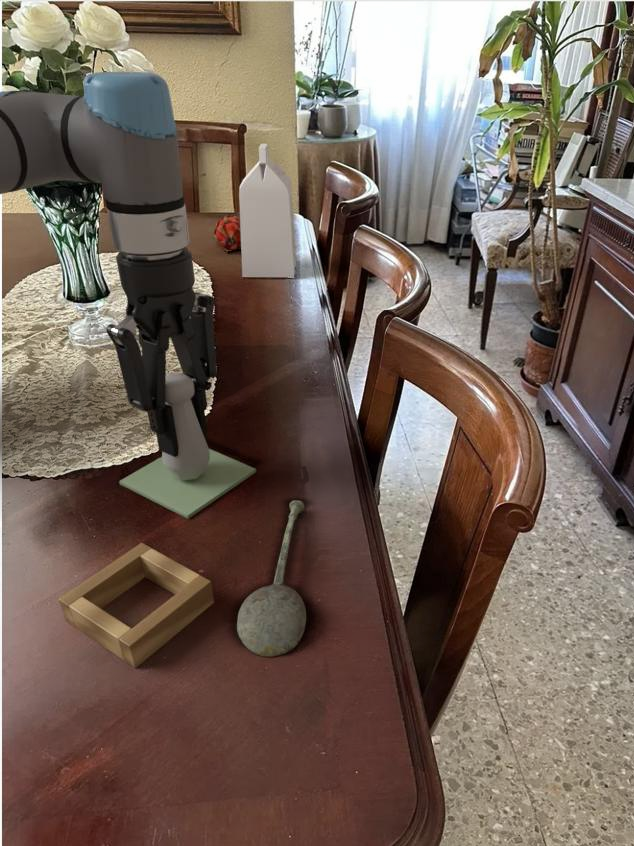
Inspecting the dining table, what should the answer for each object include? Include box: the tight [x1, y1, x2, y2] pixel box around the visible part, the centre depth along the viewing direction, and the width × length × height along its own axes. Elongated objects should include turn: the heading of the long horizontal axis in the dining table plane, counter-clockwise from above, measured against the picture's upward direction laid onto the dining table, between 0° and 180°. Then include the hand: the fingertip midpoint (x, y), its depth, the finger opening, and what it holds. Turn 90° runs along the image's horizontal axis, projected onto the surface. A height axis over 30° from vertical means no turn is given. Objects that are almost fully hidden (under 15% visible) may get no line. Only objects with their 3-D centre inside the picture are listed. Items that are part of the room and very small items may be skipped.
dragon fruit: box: [213, 215, 241, 253], centre depth 163 cm, size 8×8×12 cm
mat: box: [118, 448, 257, 520], centre depth 84 cm, size 12×12×1 cm
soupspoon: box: [236, 499, 307, 658], centre depth 69 cm, size 22×3×7 cm
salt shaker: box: [161, 372, 210, 481], centre depth 80 cm, size 6×6×13 cm
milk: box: [238, 143, 297, 279], centre depth 145 cm, size 12×12×26 cm
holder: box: [58, 542, 215, 669], centre depth 64 cm, size 10×10×3 cm
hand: (183, 443), depth 81 cm, fingers closed on salt shaker, 4 cm apart
